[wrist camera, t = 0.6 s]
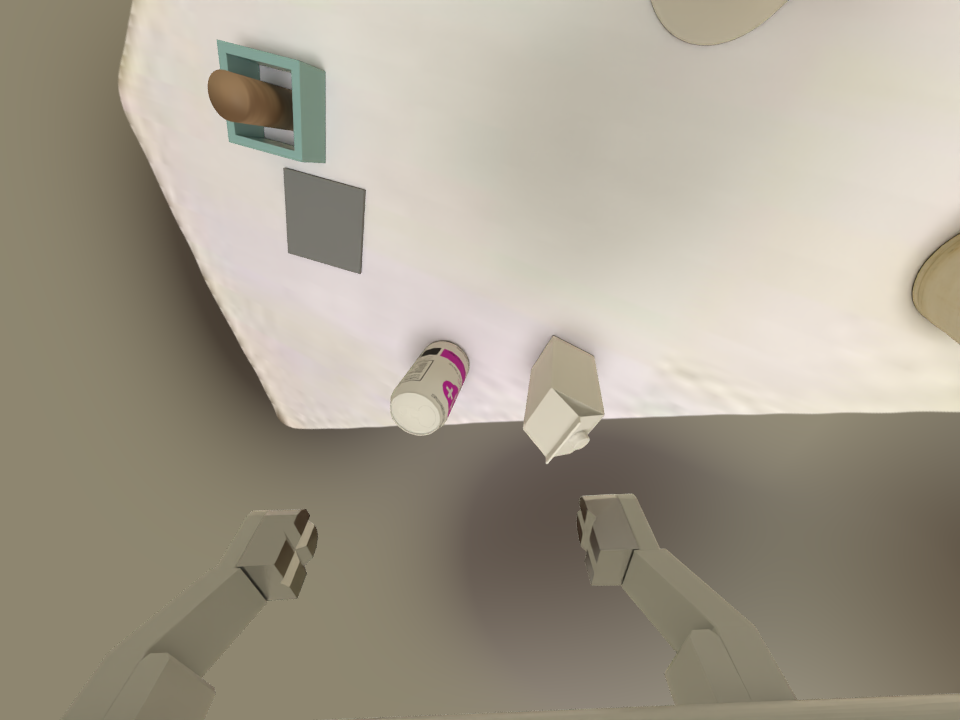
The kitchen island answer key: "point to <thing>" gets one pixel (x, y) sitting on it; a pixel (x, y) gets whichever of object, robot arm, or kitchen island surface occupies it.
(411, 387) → the supplement can
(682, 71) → the kitchen island surface
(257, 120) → the walnut peg
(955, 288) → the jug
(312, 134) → the tub
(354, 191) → the mat
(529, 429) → the milk carton
